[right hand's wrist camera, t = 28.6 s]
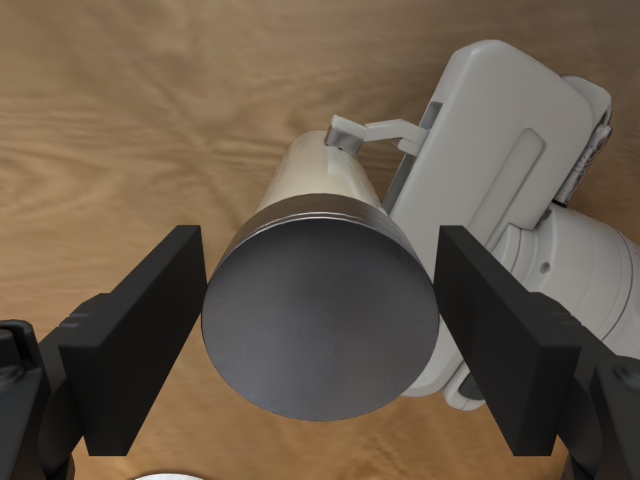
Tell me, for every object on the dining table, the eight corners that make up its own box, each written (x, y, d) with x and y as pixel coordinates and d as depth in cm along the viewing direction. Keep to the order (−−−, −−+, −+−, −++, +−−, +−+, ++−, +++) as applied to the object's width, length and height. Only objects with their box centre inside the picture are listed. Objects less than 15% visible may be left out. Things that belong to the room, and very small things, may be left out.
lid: (178, 283, 12) (150, 324, 10) (327, 146, 10) (329, 161, 8) (314, 399, 13) (314, 454, 11) (460, 294, 12) (487, 336, 10)
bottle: (313, 112, 27) (302, 168, 9) (375, 163, 28) (464, 294, 11) (265, 175, 28) (180, 322, 11) (326, 221, 30) (334, 418, 12)
